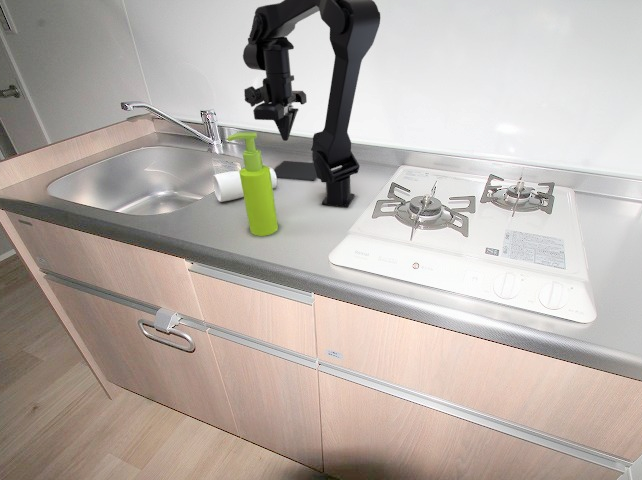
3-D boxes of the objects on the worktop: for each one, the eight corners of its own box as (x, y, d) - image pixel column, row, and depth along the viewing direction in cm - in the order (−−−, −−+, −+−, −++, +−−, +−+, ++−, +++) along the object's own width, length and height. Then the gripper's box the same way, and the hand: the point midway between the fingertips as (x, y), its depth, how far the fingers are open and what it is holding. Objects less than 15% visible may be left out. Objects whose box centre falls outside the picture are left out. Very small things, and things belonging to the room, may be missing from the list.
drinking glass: (274, 194, 97) (219, 206, 91) (266, 171, 97) (210, 181, 91) (281, 184, 91) (222, 196, 84) (272, 159, 91) (213, 169, 85)
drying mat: (313, 181, 98) (313, 179, 97) (266, 177, 102) (266, 175, 101) (327, 165, 107) (327, 163, 106) (284, 162, 111) (284, 160, 110)
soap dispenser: (247, 223, 80) (229, 130, 68) (278, 221, 80) (265, 127, 68) (244, 237, 75) (224, 139, 64) (277, 234, 75) (263, 137, 64)
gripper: (264, 66, 94) (272, 129, 103) (227, 79, 80) (240, 150, 89) (304, 66, 90) (309, 130, 100) (273, 79, 76) (281, 153, 85)
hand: (285, 140), depth 93 cm, fingers closed
